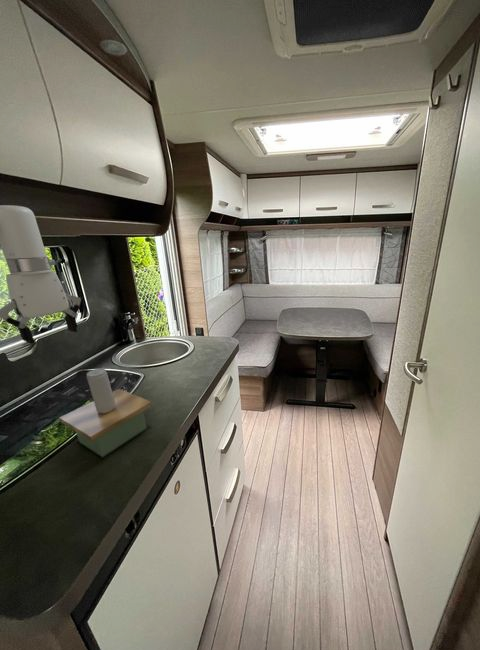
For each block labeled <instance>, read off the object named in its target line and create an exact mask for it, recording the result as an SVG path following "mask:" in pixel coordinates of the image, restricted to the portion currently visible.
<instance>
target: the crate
mask: <svg viewBox="0 0 480 650" xmlns="http://www.w3.org/2000/svg"><path fill="white" fill-rule="evenodd" d="M147 429H148V426H147V423H146V419H145V415H144V411H143V412H141V413H140V414H138V415H136V416H135V417H133V418H131V419H129V420H128V421H126V422H124V423H123V424H121V425H119V426H118V427H116V428H114V429H113V430H111V431H109V432H108V433H106V434H104V435H102V436H101V437H99V438H97V439H96V440H94V441H91V440H89V439H87V438H86V437H84V436H82V435H81V434H79V433H78V432H76V431H75V433H76V434H75V435H76V436H77V439H78V443H80V444H81V445H83V446H84V447H86V448H87V449H89V451H92V452H94V453H95V454H96V455H98V456H100V457H101V458H104V457H106V456H107V455H109V454H110V453H112V452H114V450H116V449H118V448H120V447H121V446H122V445H125V444H126V443H127V442H128V441H130V440H132V439H133V438H134V437H136V436H138V435H139V434H141V433H142V432H144V431H146V430H147Z"/></svg>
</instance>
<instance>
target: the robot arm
mask: <svg viewBox="0 0 480 650" xmlns="http://www.w3.org/2000/svg"><path fill="white" fill-rule="evenodd" d="M0 249H1V251H2V254H3V258H4V259H5V262H6V265H7V268H8V271H9V273H7V274H5V280H6V286H7V290H8V295H9V298H10V302H8V303H7V304H5V305H4V306H2V307H1V308H0V319H2V320H3V321H4V322H6V323H7V324H10V325H11V326H14V327H17V329H18V332H19V335H20V337H21V339H22V341H24V342H25V343H28V344H30V345H32V344H35V339H34V337H33V334H32V331H31V328H30V327H29V326H27V325H28V323H29V321H30V320H31V319H34V318H39V317H43V316H49V315H55V314H58V313H63V314H64V315H65V316H64V320H65V323H66V326H67V330H68V331H69V332H73V333H77V332H78V323H77V319H76V316H77V313H78V311H79V309H80V306H81V301H82V298H81V297H79V296H76V295H73V294H69V293H66V291H65V290H64V289H65V288H64V287H63V285H62V282H61V280H60V279H59V277H58V274H57V273H56V271H55V270H52V266H56V264H57V263H56V260H55V259H53V258H52V259H51V258H49V256H47V252H46V249H45V246H44V242H43V239H42V235H41V232H40V228H39V226H38V222H37V219H36V216H35V213H34V211H32V209H30V208H29V207H26V206H21V205H11V204H7V205H6V204H4V205H3V204H2V205H0ZM69 301H72V305H70V306H69ZM12 311H14V314H15V315H16V316H17V317H16V319H14V318H13V317H11V316H10V315H9V313H11V312H12Z"/></svg>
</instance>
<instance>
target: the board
mask: <svg viewBox="0 0 480 650" xmlns="http://www.w3.org/2000/svg"><path fill="white" fill-rule="evenodd" d="M112 394H113V397H114V401H115V408H114V410H112V411H111V412H109V413H105V414H101V413H99V412H97V410H96V407H95V403H94V400H93V401H91V402H89V403H87V404H84V405H82V406H80V407H78V408H76V409H74V410H72V411H70V412H68V413H66V414H64V415H61V416H59V417H58V419H59V421H60V423H62V425H65V426H66V427H68V428H70V429H71V430H73V431H74V432H75V433H76V432H78V433H79V434H81V435H82V436H84V437H86V438H87V439H89V440H91V441H94V440H96V439H97V438H99V437H101V436H102V435H104V434H106V433H108V432H109V431H111V430H113V429H114V428H116V427H118V426H119V425H121V424H123V423H124V422H126V421H128V420H129V419H131V418H133V417H135V416H136V415H138V414H140V413H141V412H143V413H144V412H145V411H146V410H148V409H150V408H151V407H153V403H152V401H150V400H148V399H145V398H143V397H140V396H139V395H136V394H133V393H131V392H128V391H125V390H123V389H121V388H118V389H116V390H113V391H112Z"/></svg>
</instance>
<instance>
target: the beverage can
mask: <svg viewBox="0 0 480 650" xmlns="http://www.w3.org/2000/svg"><path fill="white" fill-rule="evenodd" d="M86 379H87V383H88V385H89V386H88V387H89V389H90V394H91V397H92V399H93V401H94V403H95V407H96V410H97V412H99V413H101V414H105V413H109V412H111V411H112V410H114V408H115V401H114V397H113V394H112V392H113V390H112V387H111V383H110V380H109V379H110V378H109V375H108V372H107V370H106V369H105V368H95V369H92V370H89V371H88V372H86Z"/></svg>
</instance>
